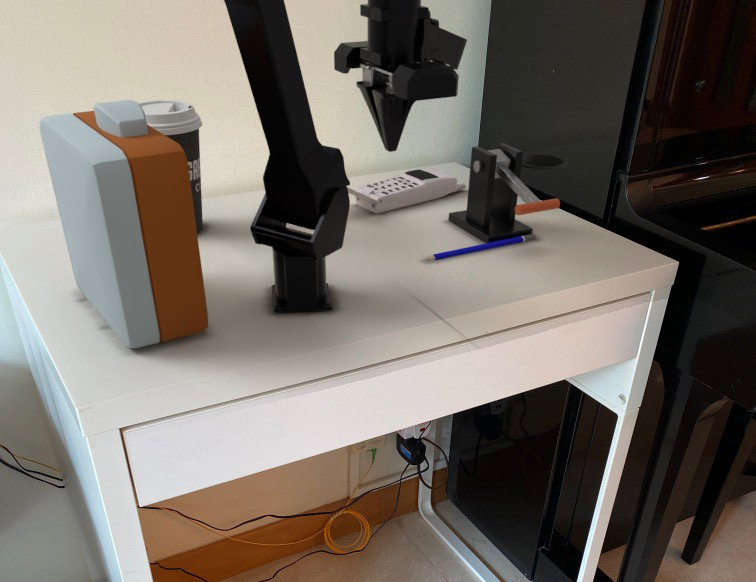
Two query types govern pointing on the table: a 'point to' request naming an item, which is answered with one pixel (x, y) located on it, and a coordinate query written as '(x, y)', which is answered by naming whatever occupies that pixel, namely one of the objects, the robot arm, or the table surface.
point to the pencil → (482, 247)
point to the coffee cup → (180, 139)
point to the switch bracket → (491, 198)
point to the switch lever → (521, 188)
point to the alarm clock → (128, 221)
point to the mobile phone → (405, 190)
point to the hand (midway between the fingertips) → (390, 150)
